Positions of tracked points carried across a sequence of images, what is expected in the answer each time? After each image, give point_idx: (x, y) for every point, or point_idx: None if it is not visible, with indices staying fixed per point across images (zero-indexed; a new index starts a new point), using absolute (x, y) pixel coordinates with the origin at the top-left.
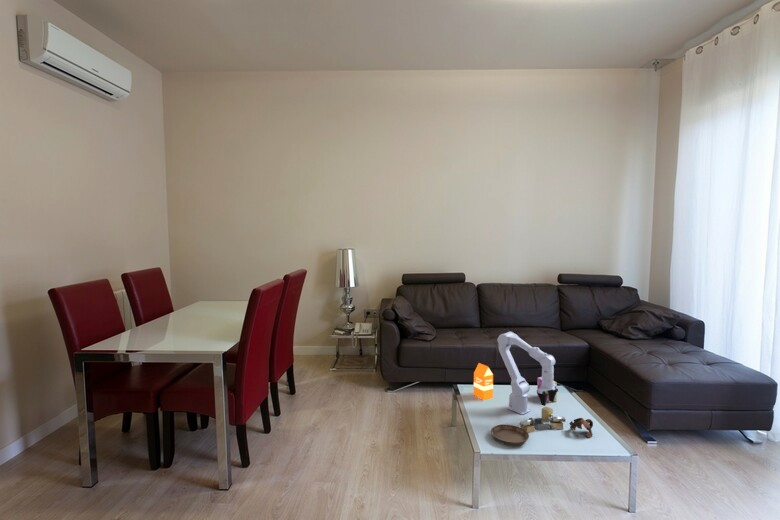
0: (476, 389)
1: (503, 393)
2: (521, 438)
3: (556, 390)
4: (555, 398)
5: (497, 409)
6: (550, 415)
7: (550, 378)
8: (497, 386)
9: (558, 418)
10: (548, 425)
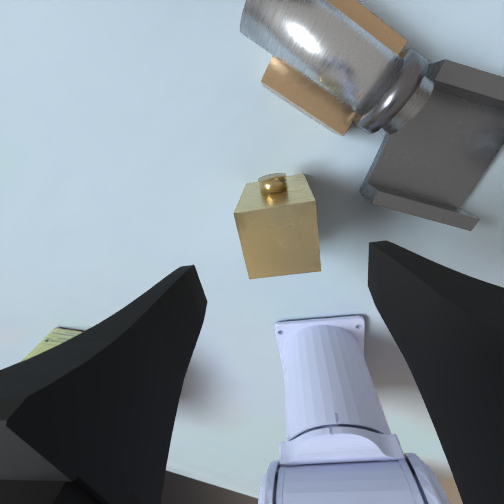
0: None
1: (244, 450)
2: None
3: (2, 412)
4: (48, 342)
5: (411, 395)
6: (285, 183)
7: None
8: (220, 478)
9: (341, 19)
10: (446, 65)
